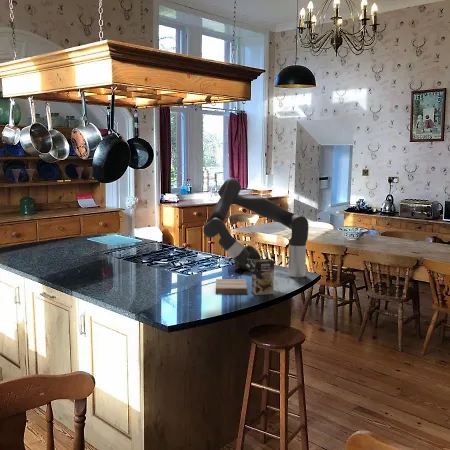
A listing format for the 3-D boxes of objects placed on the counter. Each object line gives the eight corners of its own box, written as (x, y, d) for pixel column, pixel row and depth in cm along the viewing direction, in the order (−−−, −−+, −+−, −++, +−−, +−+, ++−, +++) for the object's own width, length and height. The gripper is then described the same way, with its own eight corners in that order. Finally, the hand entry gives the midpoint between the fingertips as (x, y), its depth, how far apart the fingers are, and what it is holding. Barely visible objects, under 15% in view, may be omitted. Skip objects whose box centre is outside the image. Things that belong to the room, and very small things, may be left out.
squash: (240, 255, 302) (236, 239, 291) (265, 258, 297) (261, 242, 286) (234, 274, 293) (229, 259, 282) (259, 278, 288) (255, 262, 277)
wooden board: (216, 283, 259) (216, 279, 258) (245, 284, 259) (245, 279, 258) (215, 293, 242) (215, 288, 241) (247, 293, 242) (247, 288, 241)
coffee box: (255, 295, 239) (256, 261, 237) (251, 291, 245) (251, 259, 243) (273, 294, 241) (274, 260, 239) (268, 290, 248) (269, 258, 245)
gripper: (231, 254, 248) (254, 277, 249) (232, 261, 234) (256, 285, 235) (242, 244, 247) (266, 267, 248) (243, 249, 233) (268, 274, 234)
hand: (261, 276), depth 242 cm, fingers open, 8 cm apart
